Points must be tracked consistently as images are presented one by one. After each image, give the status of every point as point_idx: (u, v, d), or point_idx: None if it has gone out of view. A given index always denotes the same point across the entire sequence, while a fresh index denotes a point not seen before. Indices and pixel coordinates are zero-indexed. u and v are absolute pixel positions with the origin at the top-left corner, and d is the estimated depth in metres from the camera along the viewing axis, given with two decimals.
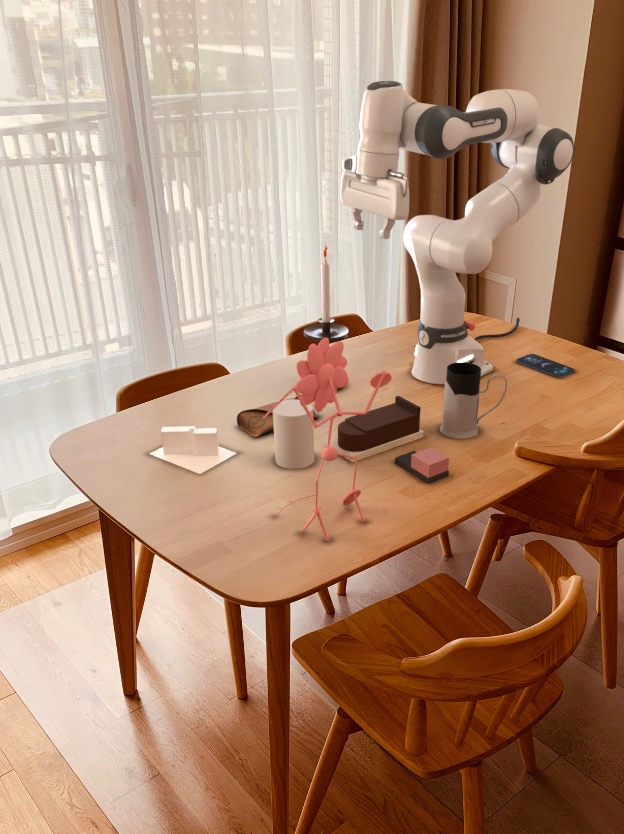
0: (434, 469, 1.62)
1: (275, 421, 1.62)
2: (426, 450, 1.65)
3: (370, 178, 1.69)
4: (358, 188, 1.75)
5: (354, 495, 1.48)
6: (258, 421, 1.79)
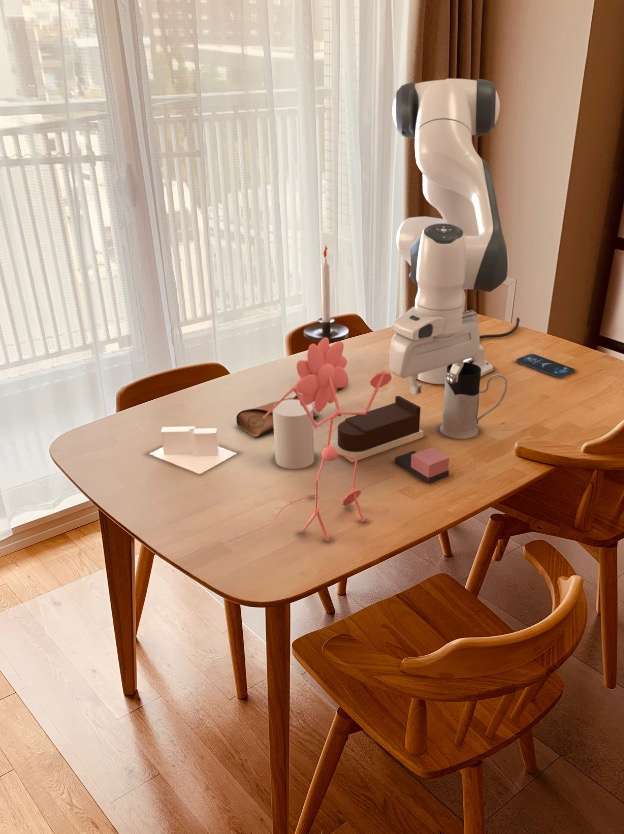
0: (434, 469, 1.62)
1: (275, 421, 1.62)
2: (426, 450, 1.65)
3: None
4: (426, 350, 1.47)
5: (354, 495, 1.48)
6: (258, 421, 1.79)
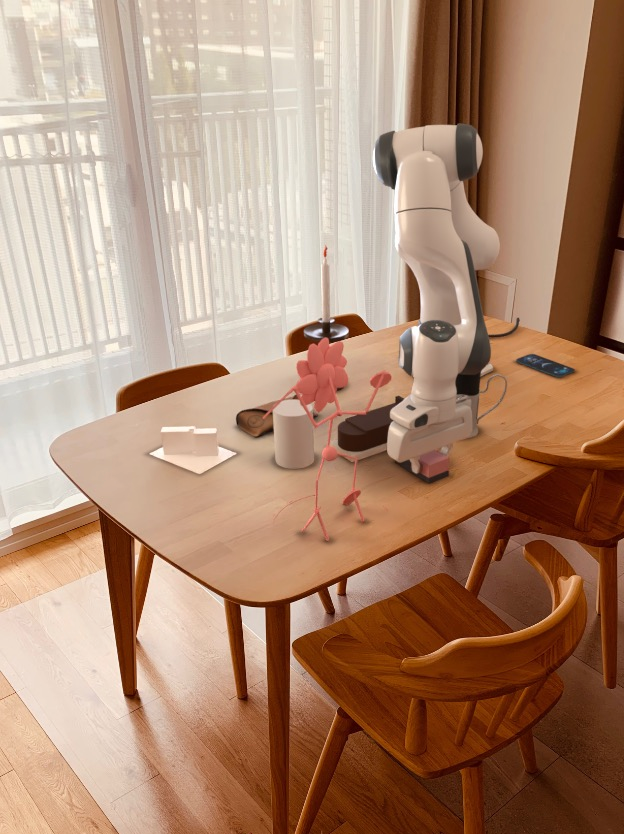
0: (434, 469, 1.62)
1: (275, 421, 1.62)
2: None
3: None
4: (422, 436, 1.57)
5: (354, 495, 1.48)
6: (257, 420, 1.79)
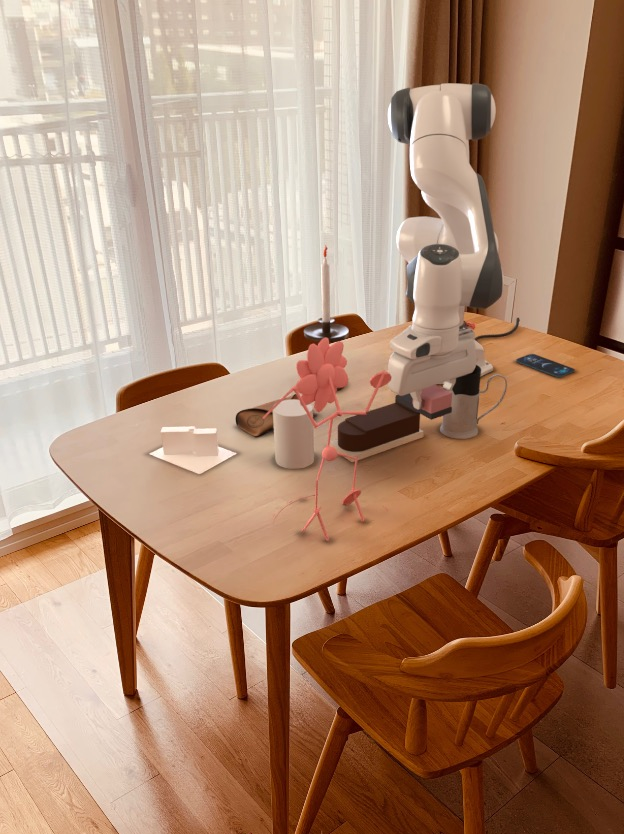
0: (437, 404, 1.55)
1: (275, 421, 1.62)
2: None
3: None
4: (424, 368, 1.50)
5: (354, 495, 1.48)
6: (257, 420, 1.79)
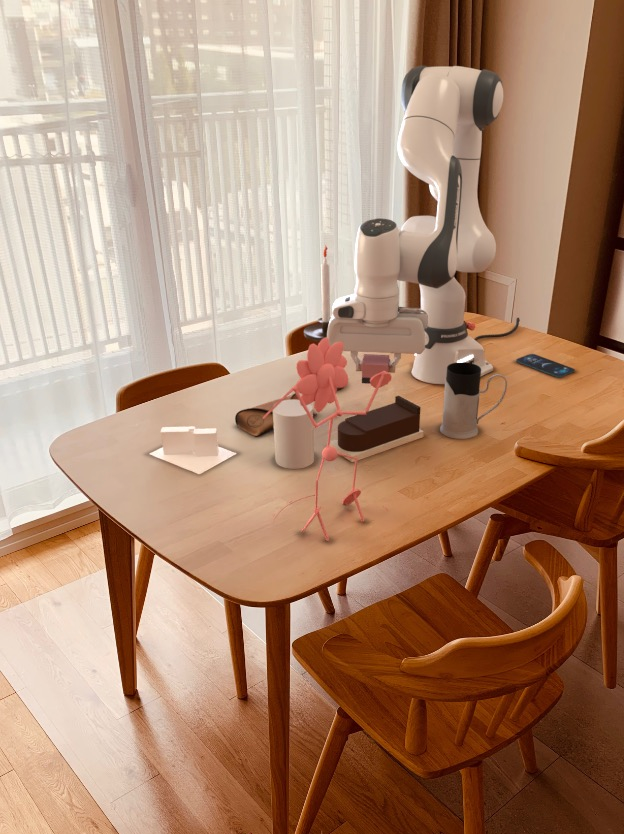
0: (369, 370, 1.64)
1: (275, 421, 1.62)
2: (381, 355, 1.68)
3: (383, 321, 1.59)
4: (356, 332, 1.61)
5: (354, 495, 1.48)
6: (257, 420, 1.79)
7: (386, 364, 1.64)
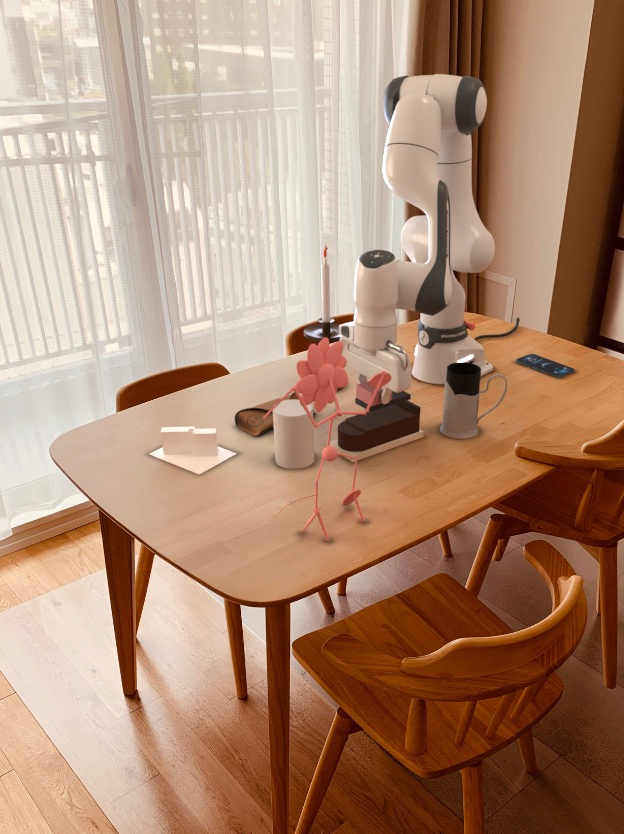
0: (360, 393, 1.69)
1: (275, 421, 1.62)
2: None
3: (369, 349, 1.62)
4: (357, 353, 1.67)
5: (354, 495, 1.48)
6: (257, 420, 1.80)
7: (371, 392, 1.66)
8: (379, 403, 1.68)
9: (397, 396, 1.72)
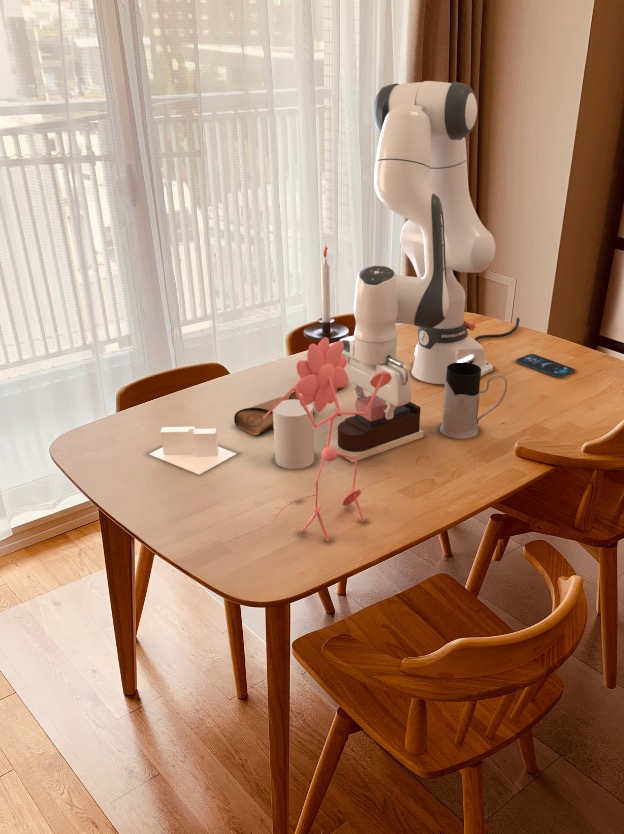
0: (359, 408, 1.71)
1: (275, 421, 1.62)
2: (384, 400, 1.71)
3: (369, 364, 1.63)
4: (358, 367, 1.69)
5: (354, 495, 1.48)
6: (256, 419, 1.80)
7: (371, 407, 1.68)
8: (379, 418, 1.70)
9: (396, 410, 1.74)
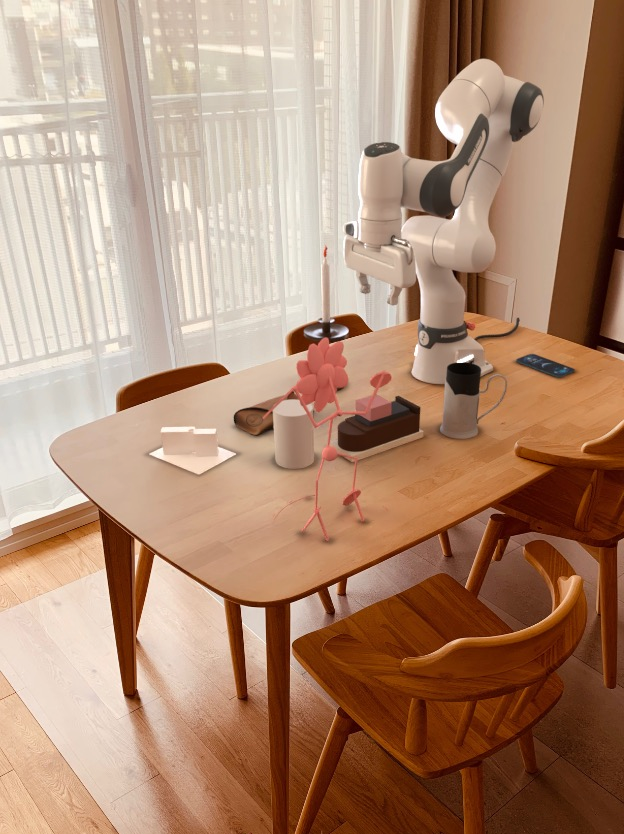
0: (359, 408, 1.71)
1: (275, 421, 1.62)
2: (384, 400, 1.72)
3: (373, 245, 1.61)
4: (362, 253, 1.67)
5: (354, 495, 1.48)
6: (256, 419, 1.80)
7: (371, 407, 1.68)
8: (378, 418, 1.70)
9: (396, 410, 1.74)
